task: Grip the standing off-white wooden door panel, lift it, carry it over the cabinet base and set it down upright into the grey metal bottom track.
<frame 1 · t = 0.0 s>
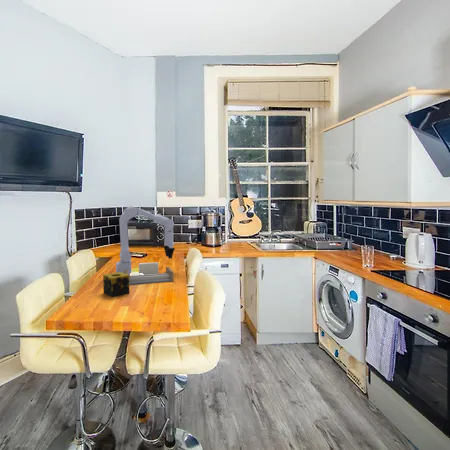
hand: (168, 257, 224), 10 cm above the counter, tool pointing down, fingers open, 7 cm apart
door panel: (148, 275, 216), on the counter
black and yellow cube: (116, 293, 177), on the counter
cabinet base: (148, 280, 203), on the counter
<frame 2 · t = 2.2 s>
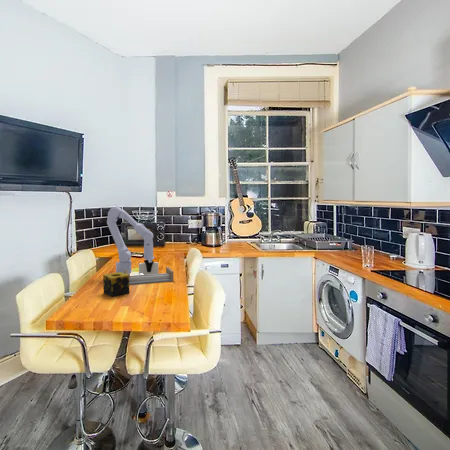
hand: (148, 271, 216), 2 cm above the counter, tool pointing down, fingers closed on door panel, 2 cm apart
door panel: (148, 275, 216), on the counter, touching gripper
everything else where it was.
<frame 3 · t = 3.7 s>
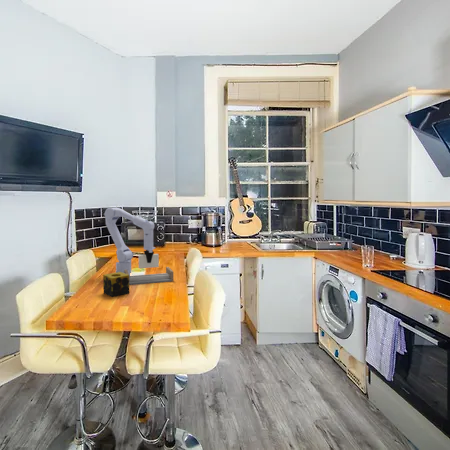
hand: (148, 262, 210), 9 cm above the counter, tool pointing down, fingers closed on door panel
door panel: (148, 267, 210), point 6 cm above the counter, touching gripper
everything else where it was.
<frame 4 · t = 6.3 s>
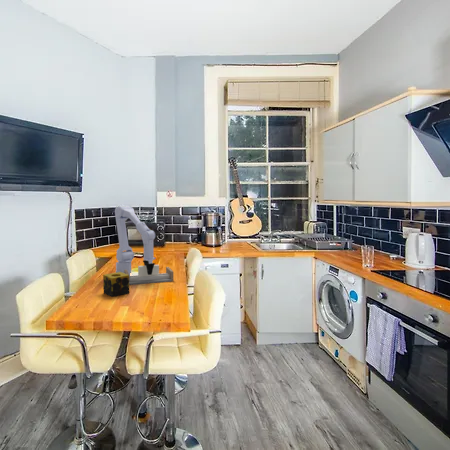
hand: (148, 273, 203), 4 cm above the counter, tool pointing down, fingers open, 7 cm apart
door panel: (148, 278, 203), point 1 cm above the counter, touching cabinet base
everything else where it was.
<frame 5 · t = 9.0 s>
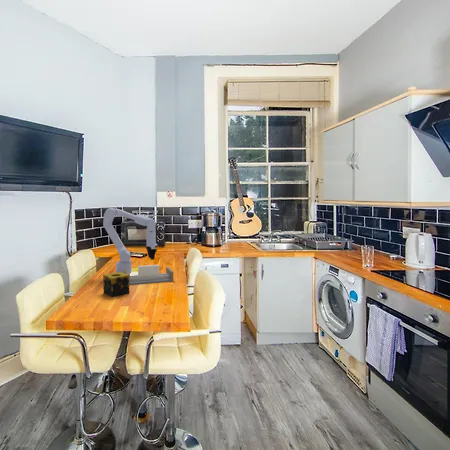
hand: (151, 258, 218), 10 cm above the counter, tool pointing down, fingers open, 7 cm apart
nothing on the counter moved.
at the end: door panel inside the target area on the cabinet base (0.1 cm from its centre), point 1.0 cm above the cabinet base's base; door panel tilted 0°; the gripper is holding nothing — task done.
